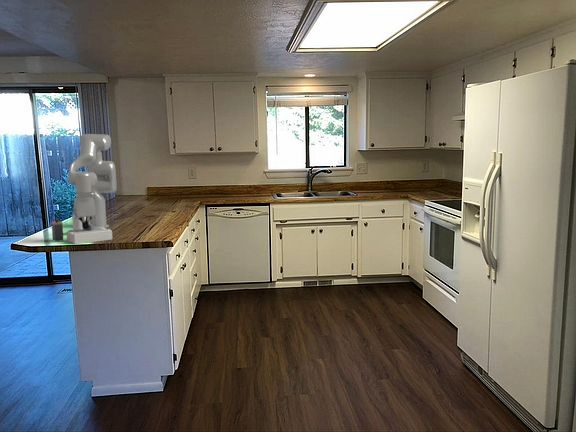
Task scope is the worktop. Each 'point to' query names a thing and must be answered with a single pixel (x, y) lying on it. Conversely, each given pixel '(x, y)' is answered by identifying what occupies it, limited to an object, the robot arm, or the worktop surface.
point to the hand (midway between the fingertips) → (85, 229)
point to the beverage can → (77, 223)
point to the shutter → (93, 228)
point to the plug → (57, 230)
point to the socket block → (88, 235)
